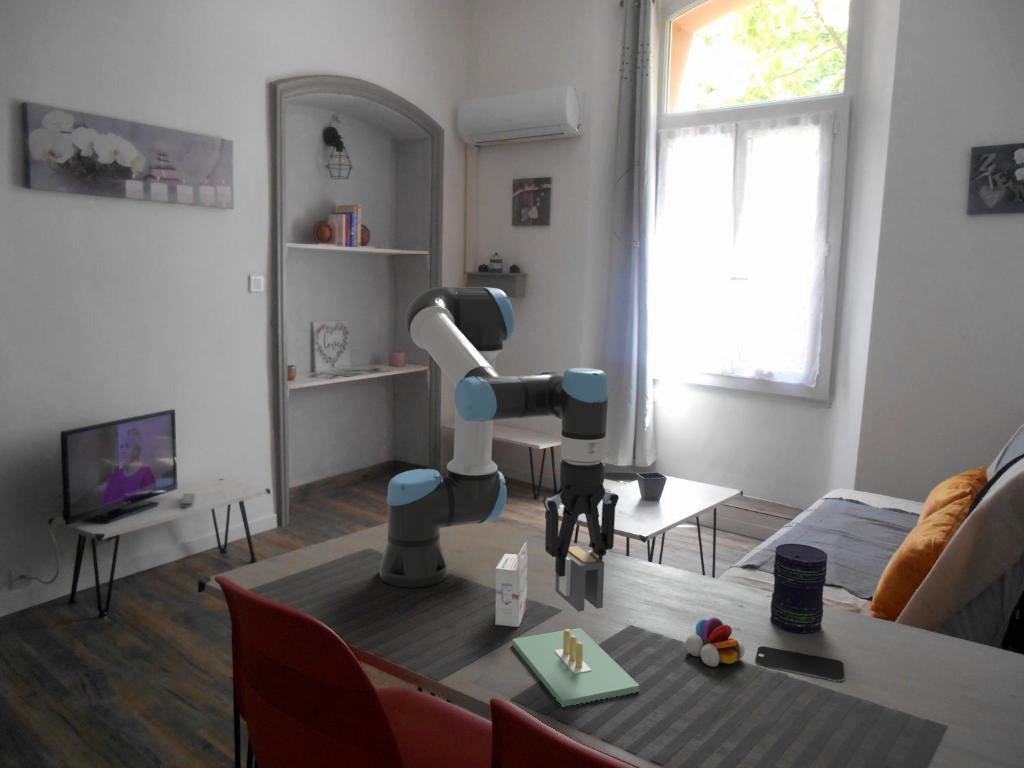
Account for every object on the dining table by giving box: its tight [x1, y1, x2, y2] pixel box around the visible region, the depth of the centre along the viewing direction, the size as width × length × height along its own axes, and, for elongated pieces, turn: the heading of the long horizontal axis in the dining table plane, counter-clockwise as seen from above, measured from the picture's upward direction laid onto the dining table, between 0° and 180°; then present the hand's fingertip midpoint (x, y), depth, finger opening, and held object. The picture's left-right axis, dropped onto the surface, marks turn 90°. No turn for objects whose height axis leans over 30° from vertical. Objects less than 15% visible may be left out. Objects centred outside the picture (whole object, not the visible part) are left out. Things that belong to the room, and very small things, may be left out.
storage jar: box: [769, 543, 828, 636], centre depth 155 cm, size 10×10×15 cm
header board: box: [511, 627, 640, 708], centre depth 137 cm, size 22×14×6 cm, turn 21°
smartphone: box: [754, 645, 846, 682], centre depth 140 cm, size 8×1×15 cm
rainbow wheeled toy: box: [685, 616, 745, 668], centre depth 142 cm, size 8×10×7 cm
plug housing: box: [555, 544, 605, 612], centre depth 136 cm, size 9×5×8 cm, turn 22°
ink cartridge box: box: [494, 541, 529, 628], centre depth 155 cm, size 9×5×15 cm, turn 168°
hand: (578, 590), depth 136 cm, fingers closed on plug housing, 5 cm apart
